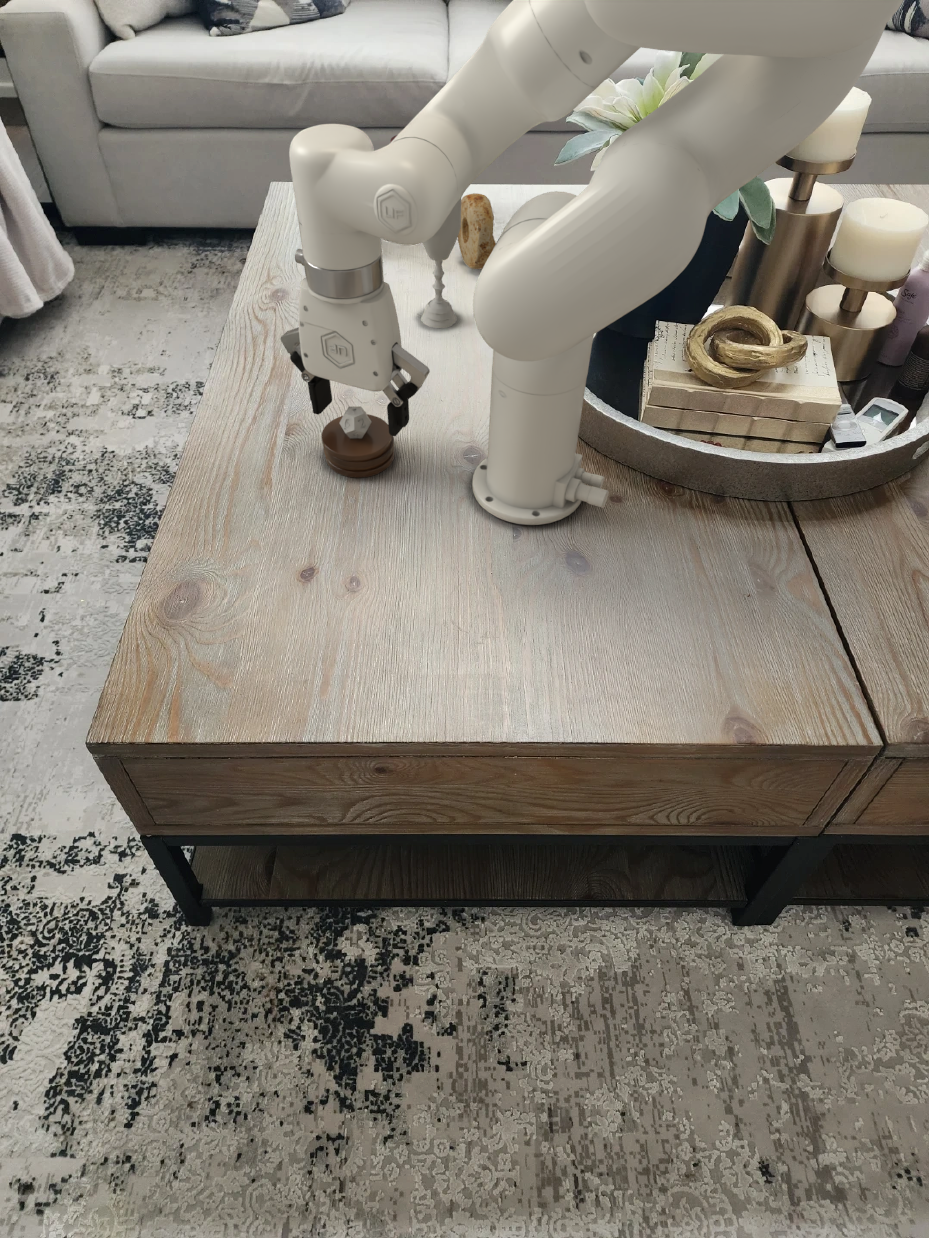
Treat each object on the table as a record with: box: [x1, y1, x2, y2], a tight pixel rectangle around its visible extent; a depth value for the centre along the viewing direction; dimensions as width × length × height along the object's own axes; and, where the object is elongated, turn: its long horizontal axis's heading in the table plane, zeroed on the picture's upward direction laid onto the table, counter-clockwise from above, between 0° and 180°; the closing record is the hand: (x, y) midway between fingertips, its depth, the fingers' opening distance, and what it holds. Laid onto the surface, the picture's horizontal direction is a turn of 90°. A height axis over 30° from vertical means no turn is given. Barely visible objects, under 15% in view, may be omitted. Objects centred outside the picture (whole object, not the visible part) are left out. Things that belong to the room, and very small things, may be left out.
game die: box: [340, 406, 371, 438], centre depth 96 cm, size 4×4×3 cm
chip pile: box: [321, 413, 395, 479], centre depth 98 cm, size 8×8×3 cm
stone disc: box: [457, 192, 497, 270], centre depth 127 cm, size 10×4×10 cm, turn 18°
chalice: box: [420, 195, 463, 329], centre depth 113 cm, size 7×7×18 cm
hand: (360, 418), depth 95 cm, fingers open, 9 cm apart
